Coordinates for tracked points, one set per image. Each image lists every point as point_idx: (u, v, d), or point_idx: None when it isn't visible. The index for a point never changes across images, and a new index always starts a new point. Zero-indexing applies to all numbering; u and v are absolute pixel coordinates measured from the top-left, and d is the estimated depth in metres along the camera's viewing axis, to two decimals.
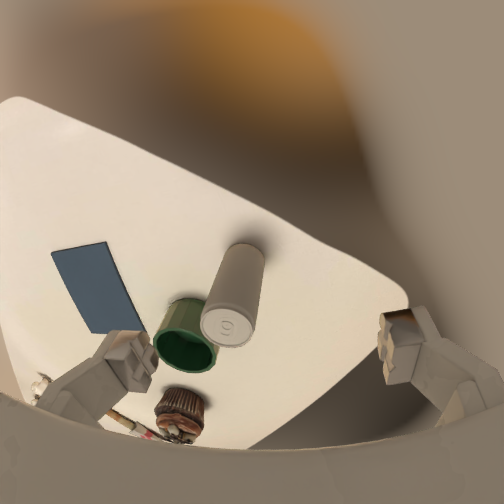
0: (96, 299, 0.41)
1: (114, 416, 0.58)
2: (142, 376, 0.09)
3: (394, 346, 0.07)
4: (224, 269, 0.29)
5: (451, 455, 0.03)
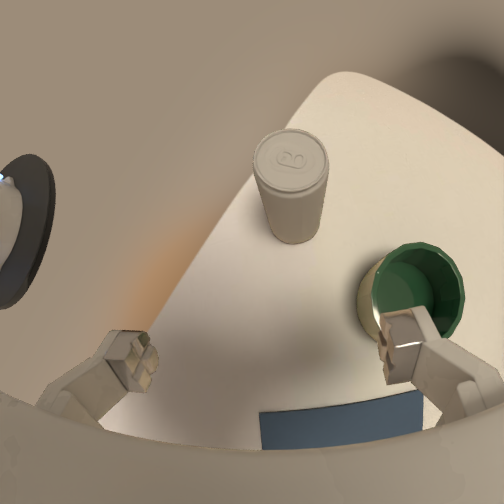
0: None
1: None
2: (142, 376, 0.09)
3: (393, 346, 0.07)
4: (266, 211, 0.23)
5: (451, 455, 0.03)
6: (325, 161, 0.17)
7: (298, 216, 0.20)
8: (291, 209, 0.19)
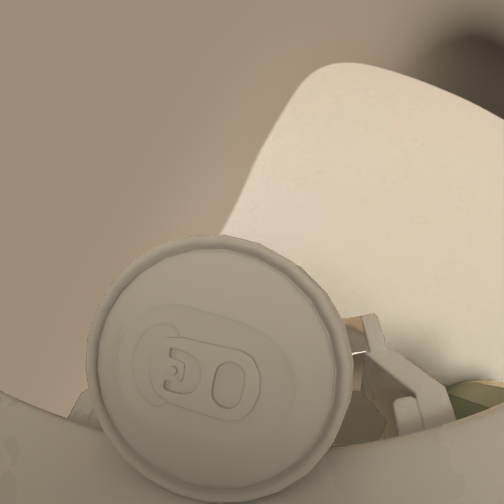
0: None
1: None
2: None
3: None
4: None
5: (451, 455, 0.03)
6: (340, 382, 0.04)
7: None
8: None
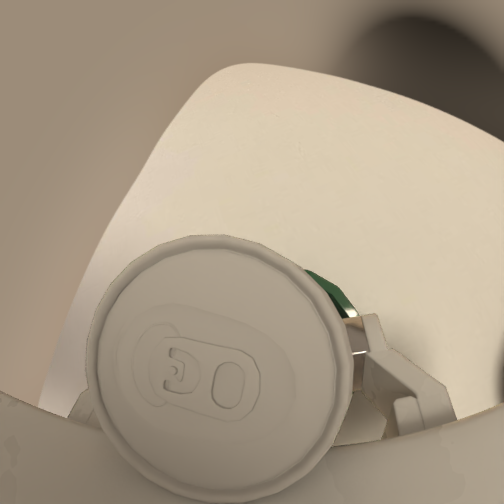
0: None
1: None
2: None
3: None
4: None
5: (451, 455, 0.03)
6: (340, 383, 0.04)
7: None
8: None
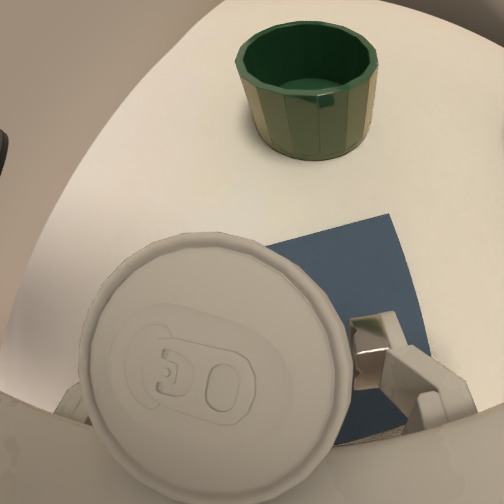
0: None
1: None
2: None
3: (356, 351, 0.07)
4: None
5: (451, 455, 0.03)
6: (338, 386, 0.04)
7: None
8: None
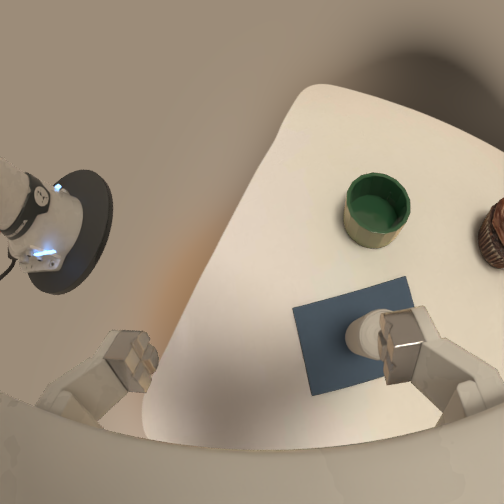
0: None
1: None
2: (142, 376, 0.09)
3: (393, 346, 0.07)
4: (353, 348, 0.30)
5: (451, 455, 0.03)
6: None
7: None
8: None
